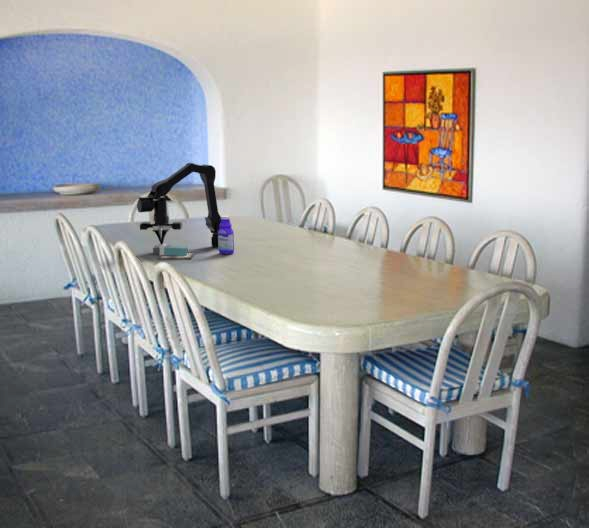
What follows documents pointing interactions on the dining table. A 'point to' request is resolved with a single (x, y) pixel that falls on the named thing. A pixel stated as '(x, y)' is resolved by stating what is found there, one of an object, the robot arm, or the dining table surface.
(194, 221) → the dining table surface
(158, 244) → the button
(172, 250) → the teal and white bar
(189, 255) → the wooden picture frame
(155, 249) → the button base
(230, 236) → the bottle
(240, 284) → the dining table surface
